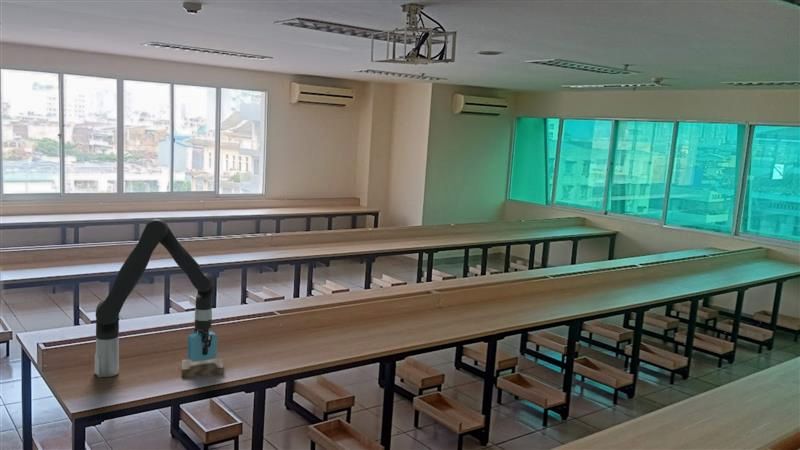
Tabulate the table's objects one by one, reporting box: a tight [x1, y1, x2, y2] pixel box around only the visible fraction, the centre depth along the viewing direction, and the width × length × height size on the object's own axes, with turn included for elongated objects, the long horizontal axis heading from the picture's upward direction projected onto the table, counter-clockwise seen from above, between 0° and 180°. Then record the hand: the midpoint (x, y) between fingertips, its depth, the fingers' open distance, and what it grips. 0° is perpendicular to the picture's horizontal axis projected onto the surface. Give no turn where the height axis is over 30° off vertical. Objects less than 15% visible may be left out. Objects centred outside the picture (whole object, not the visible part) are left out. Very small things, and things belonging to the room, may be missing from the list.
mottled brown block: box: [181, 357, 224, 378], centre depth 300 cm, size 18×12×4 cm, turn 107°
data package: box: [187, 331, 218, 362], centre depth 299 cm, size 12×4×12 cm, turn 125°
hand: (202, 352), depth 299 cm, fingers closed on data package, 5 cm apart
